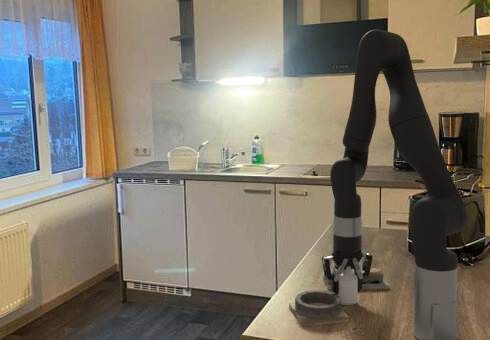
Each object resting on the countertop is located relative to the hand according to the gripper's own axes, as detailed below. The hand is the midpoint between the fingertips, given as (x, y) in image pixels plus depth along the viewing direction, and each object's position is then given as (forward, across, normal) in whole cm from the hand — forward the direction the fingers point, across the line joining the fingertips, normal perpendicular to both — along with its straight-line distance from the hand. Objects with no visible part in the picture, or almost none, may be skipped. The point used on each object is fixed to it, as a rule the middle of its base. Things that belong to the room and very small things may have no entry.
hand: (346, 292), depth 144 cm
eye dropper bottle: (+3, 0, 0) cm, 3 cm away
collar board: (+3, -10, -5) cm, 12 cm away
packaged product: (+4, +8, +13) cm, 16 cm away
